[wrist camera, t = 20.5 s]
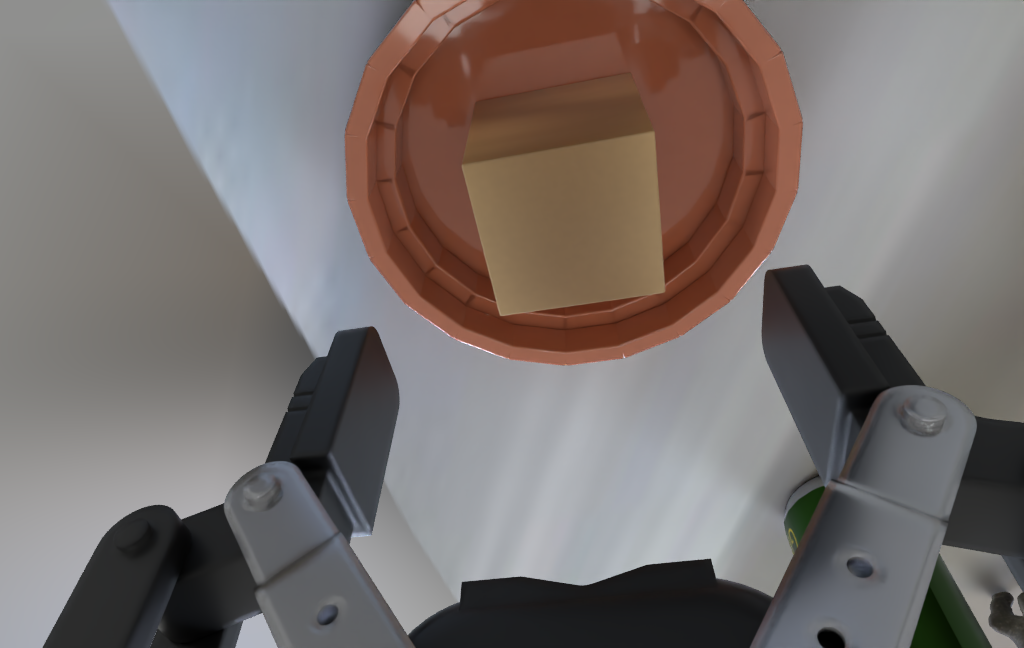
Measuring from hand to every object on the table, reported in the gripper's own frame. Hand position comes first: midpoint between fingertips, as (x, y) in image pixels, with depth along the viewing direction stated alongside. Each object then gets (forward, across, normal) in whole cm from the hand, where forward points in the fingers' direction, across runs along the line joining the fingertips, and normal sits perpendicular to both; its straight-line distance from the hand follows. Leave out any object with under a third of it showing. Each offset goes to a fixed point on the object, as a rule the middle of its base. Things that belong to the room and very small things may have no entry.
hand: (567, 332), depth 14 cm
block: (+8, 0, 0) cm, 8 cm away
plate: (+9, 0, 0) cm, 9 cm away
